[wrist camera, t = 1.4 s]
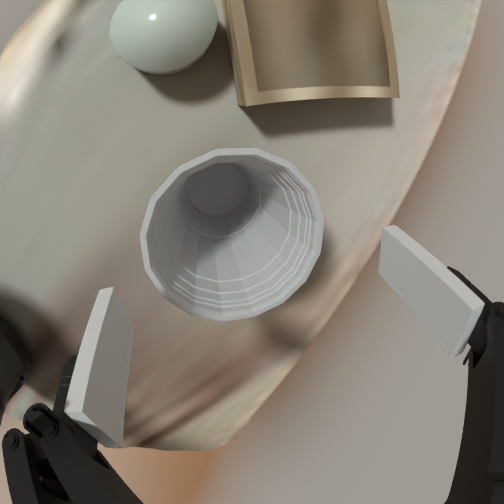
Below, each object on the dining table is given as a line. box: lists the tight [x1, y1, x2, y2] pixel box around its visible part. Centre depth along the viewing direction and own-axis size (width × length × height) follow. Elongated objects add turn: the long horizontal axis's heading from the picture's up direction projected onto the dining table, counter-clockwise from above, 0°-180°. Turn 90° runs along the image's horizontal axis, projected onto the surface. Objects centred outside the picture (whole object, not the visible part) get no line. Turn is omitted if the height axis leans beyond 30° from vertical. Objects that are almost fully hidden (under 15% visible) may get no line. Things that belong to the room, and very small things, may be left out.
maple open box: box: [221, 0, 400, 106], centre depth 19 cm, size 14×14×4 cm
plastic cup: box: [140, 148, 324, 321], centre depth 21 cm, size 11×11×12 cm
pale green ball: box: [110, 0, 218, 75], centre depth 17 cm, size 8×8×4 cm
